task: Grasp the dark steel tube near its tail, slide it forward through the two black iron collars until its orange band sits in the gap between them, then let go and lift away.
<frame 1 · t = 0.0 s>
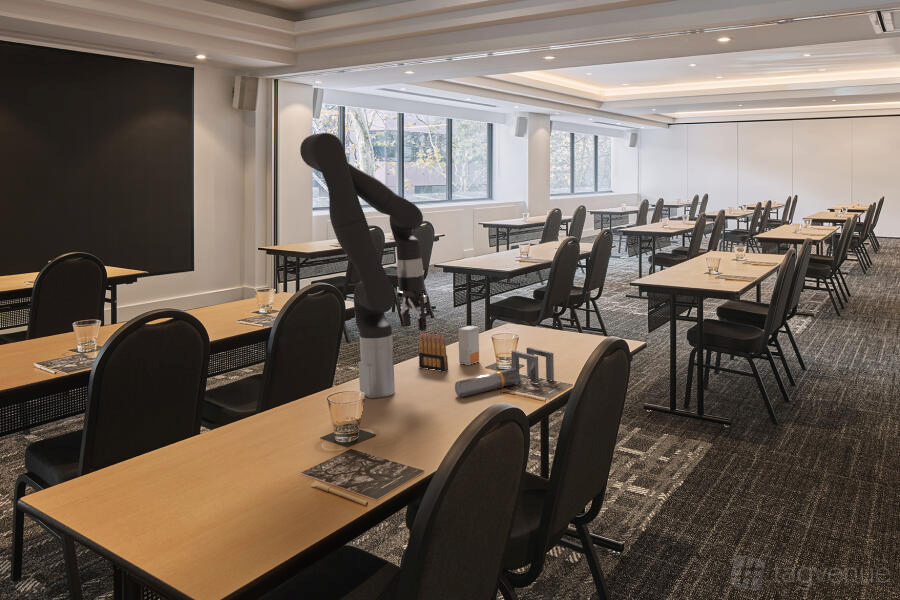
hand: (414, 328, 217), 17 cm above the table, tool pointing down, fingers open, 8 cm apart
collar 2: (540, 377, 222), on the table
skincare box: (469, 363, 243), on the table
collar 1: (525, 381, 219), on the table
ammunition clip: (433, 369, 237), on the table
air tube: (488, 390, 211), on the table
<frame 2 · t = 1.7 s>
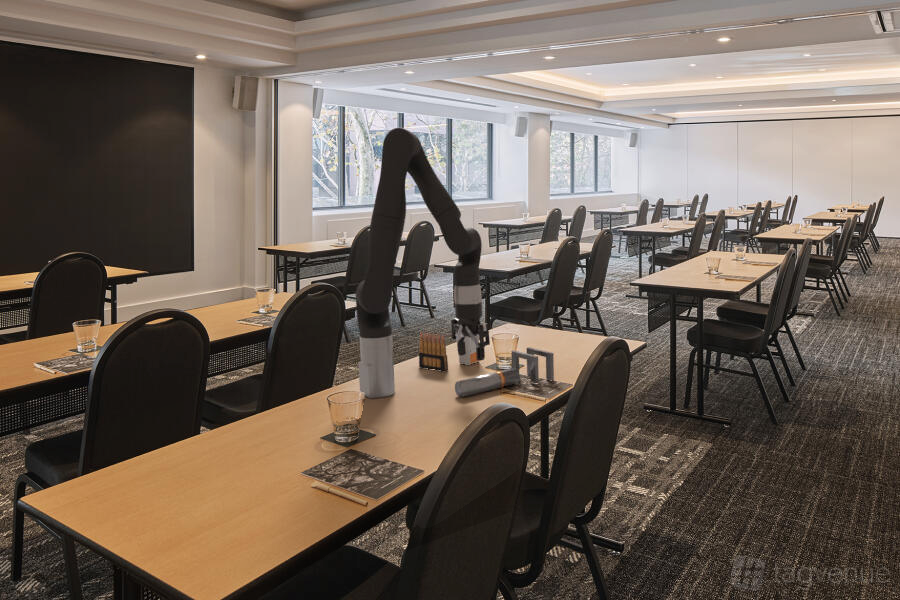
hand: (471, 357, 206), 11 cm above the table, tool pointing down, fingers open, 8 cm apart
nothing on the table moved.
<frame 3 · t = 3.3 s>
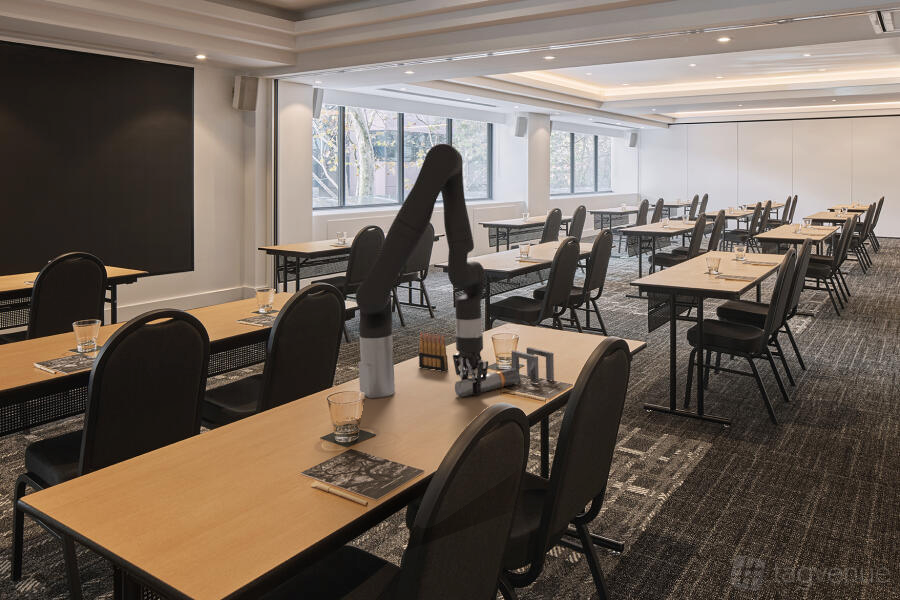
hand: (471, 392, 208), 1 cm above the table, tool pointing down, fingers closed on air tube, 4 cm apart
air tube: (488, 390, 211), on the table, touching gripper
everything else where it was.
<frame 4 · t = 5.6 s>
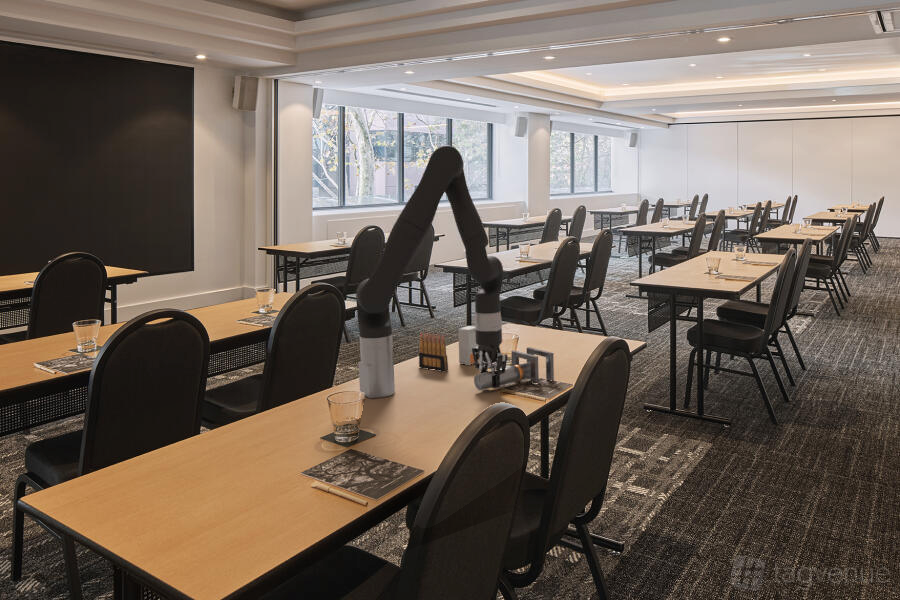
hand: (490, 385, 211), 1 cm above the table, tool pointing down, fingers closed on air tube, 4 cm apart
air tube: (506, 383, 214), point 1 cm above the table, touching gripper
everything else where it was.
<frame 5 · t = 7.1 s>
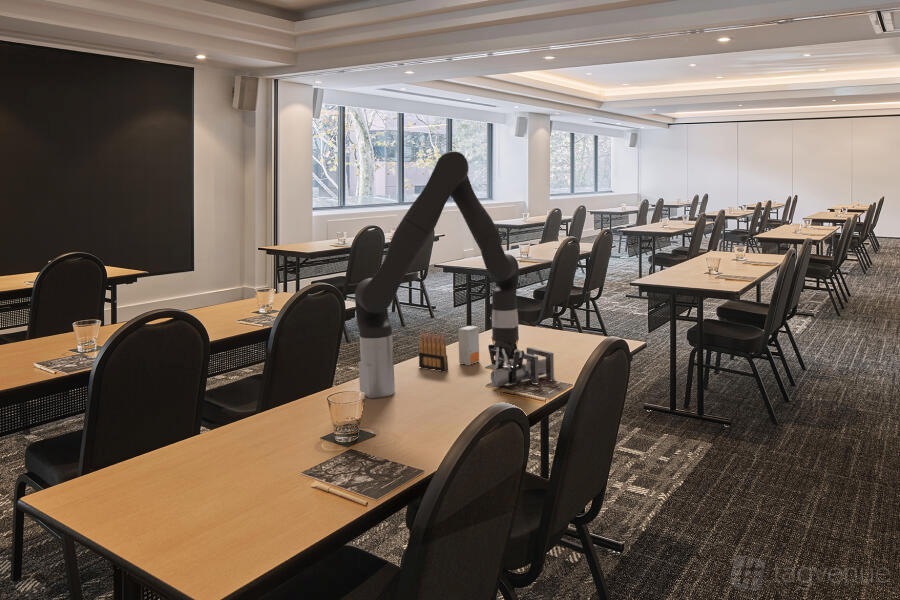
hand: (506, 381, 215), 1 cm above the table, tool pointing down, fingers closed on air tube, 4 cm apart
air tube: (522, 379, 218), point 1 cm above the table, touching gripper
everything else where it was.
when the fingers open (1 cm above the table, at t = 7.9 s): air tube stays where it is, on the table.
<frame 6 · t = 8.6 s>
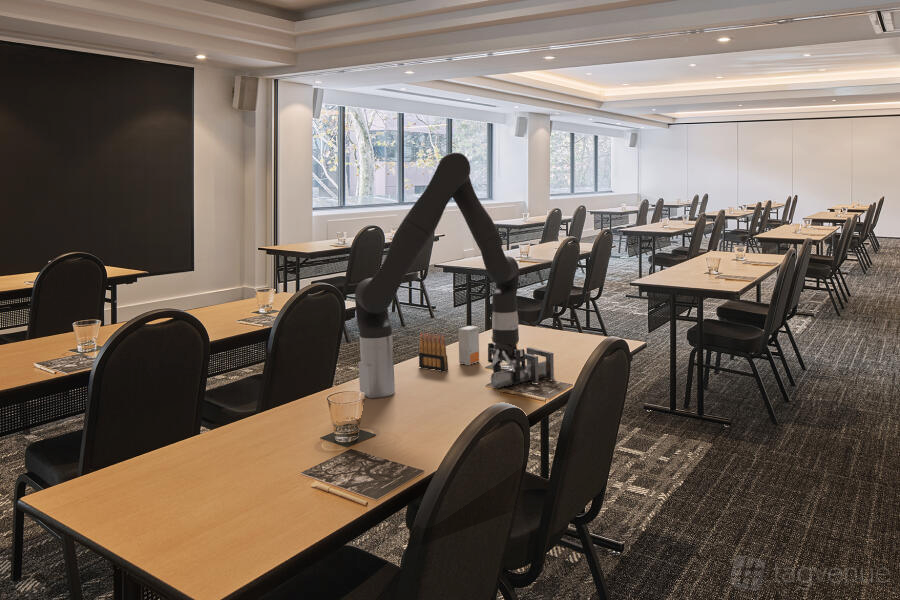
hand: (506, 380, 215), 1 cm above the table, tool pointing down, fingers open, 8 cm apart
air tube: (522, 381, 218), on the table
everything else where it was.
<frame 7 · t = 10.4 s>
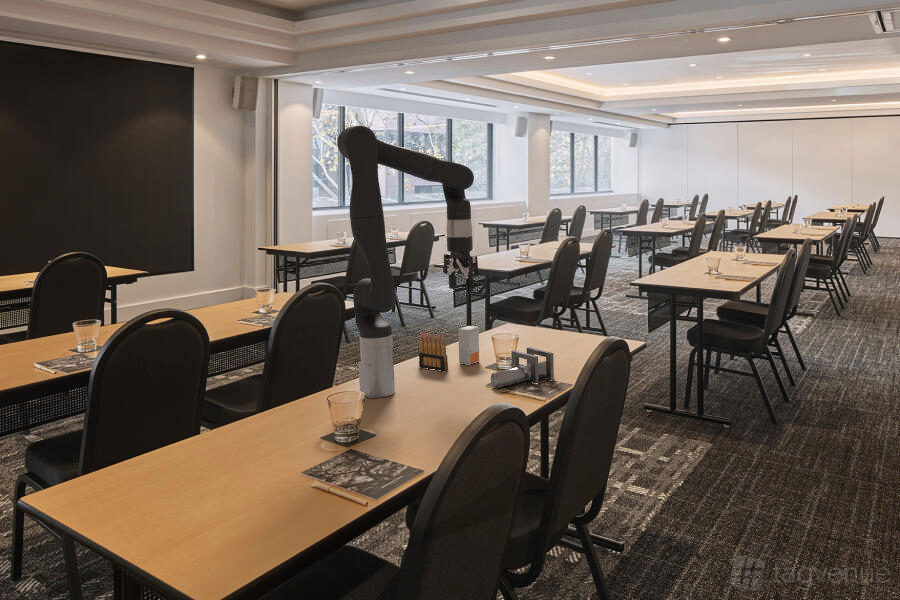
hand: (461, 290, 217), 28 cm above the table, tool pointing down, fingers open, 8 cm apart
nothing on the table moved.
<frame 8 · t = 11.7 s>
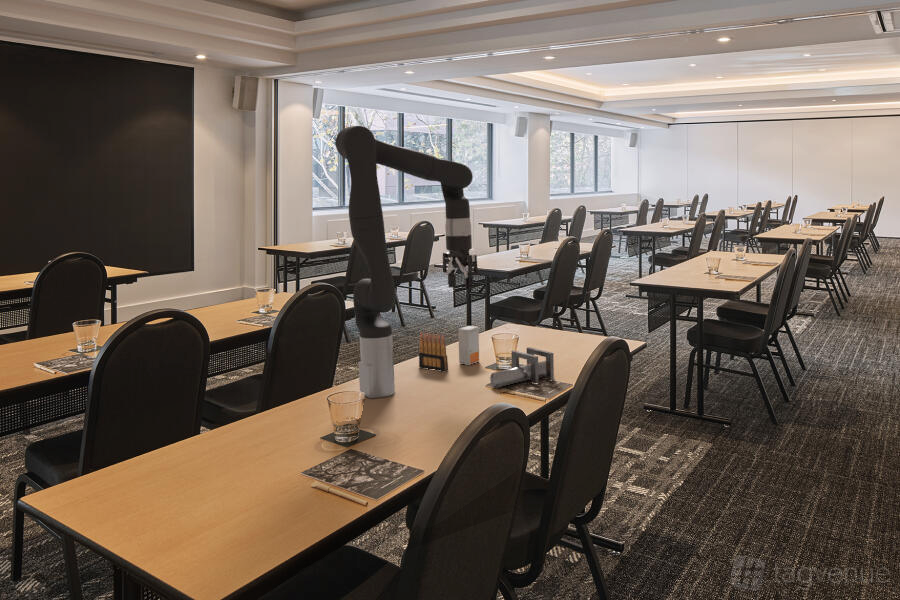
hand: (460, 288, 218), 28 cm above the table, tool pointing down, fingers open, 8 cm apart
nothing on the table moved.
at the end: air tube 0.1 cm from the target spot, on the table; the gripper is holding nothing; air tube touching table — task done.
